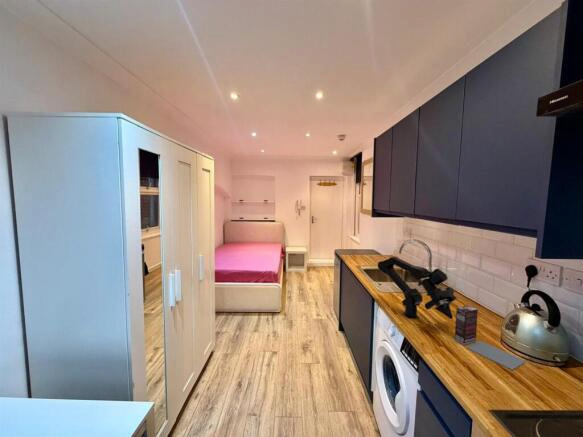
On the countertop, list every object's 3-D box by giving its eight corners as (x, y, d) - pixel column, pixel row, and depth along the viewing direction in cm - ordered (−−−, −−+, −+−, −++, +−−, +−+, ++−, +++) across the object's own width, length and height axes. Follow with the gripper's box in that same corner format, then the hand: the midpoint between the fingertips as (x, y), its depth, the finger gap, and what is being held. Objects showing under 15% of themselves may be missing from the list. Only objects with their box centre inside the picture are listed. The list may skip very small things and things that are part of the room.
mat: (465, 347, 114) (465, 347, 114) (480, 341, 120) (480, 340, 120) (512, 370, 99) (512, 369, 99) (526, 362, 105) (526, 361, 105)
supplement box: (466, 336, 124) (468, 305, 123) (476, 342, 119) (478, 309, 118) (453, 339, 121) (455, 307, 120) (463, 345, 116) (466, 311, 115)
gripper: (431, 284, 125) (453, 315, 116) (453, 279, 133) (475, 308, 124) (416, 294, 132) (435, 324, 123) (438, 289, 141) (457, 317, 132)
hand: (451, 318), depth 125 cm, fingers closed
